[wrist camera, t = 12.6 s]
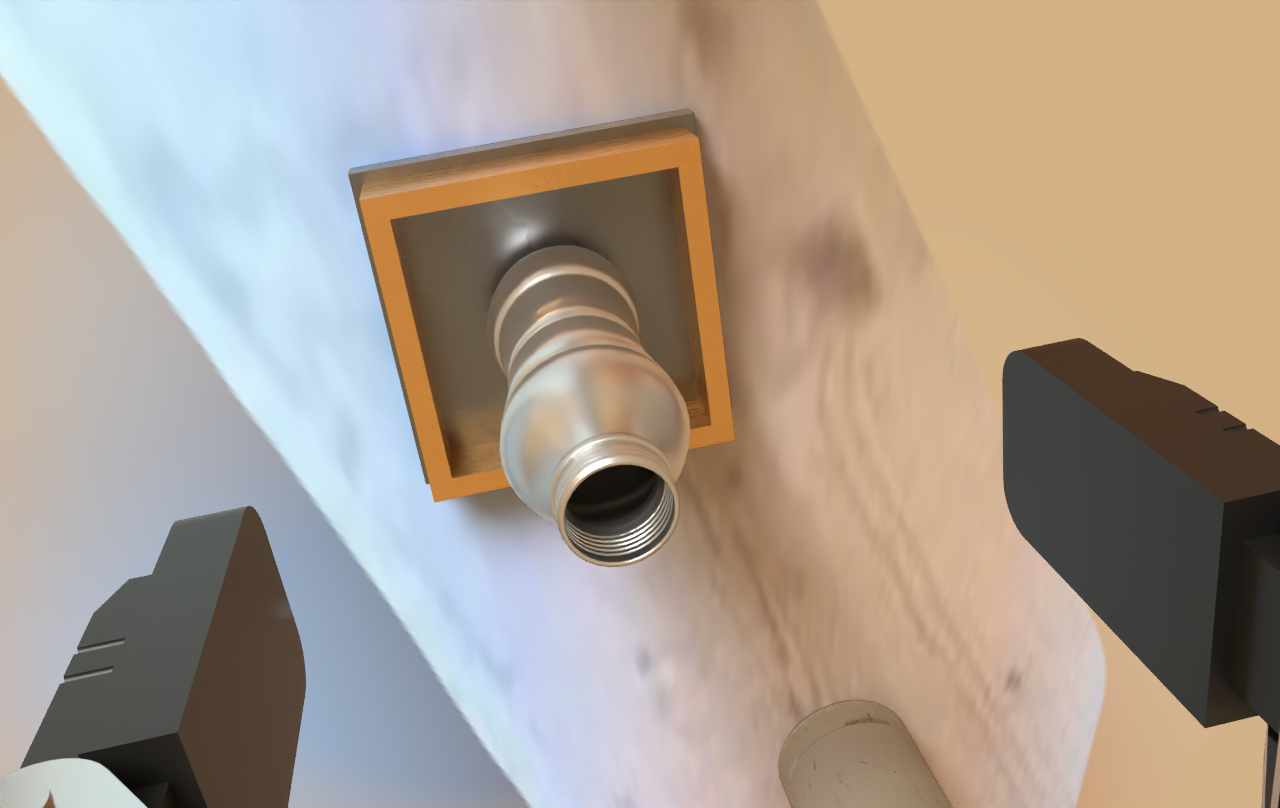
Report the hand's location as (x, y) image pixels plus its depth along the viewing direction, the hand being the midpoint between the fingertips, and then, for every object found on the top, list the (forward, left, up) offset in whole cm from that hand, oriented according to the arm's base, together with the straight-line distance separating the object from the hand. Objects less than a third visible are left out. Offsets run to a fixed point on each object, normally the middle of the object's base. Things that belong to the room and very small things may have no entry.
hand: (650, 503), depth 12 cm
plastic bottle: (+11, +1, -39) cm, 41 cm away
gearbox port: (+11, +1, -40) cm, 42 cm away
